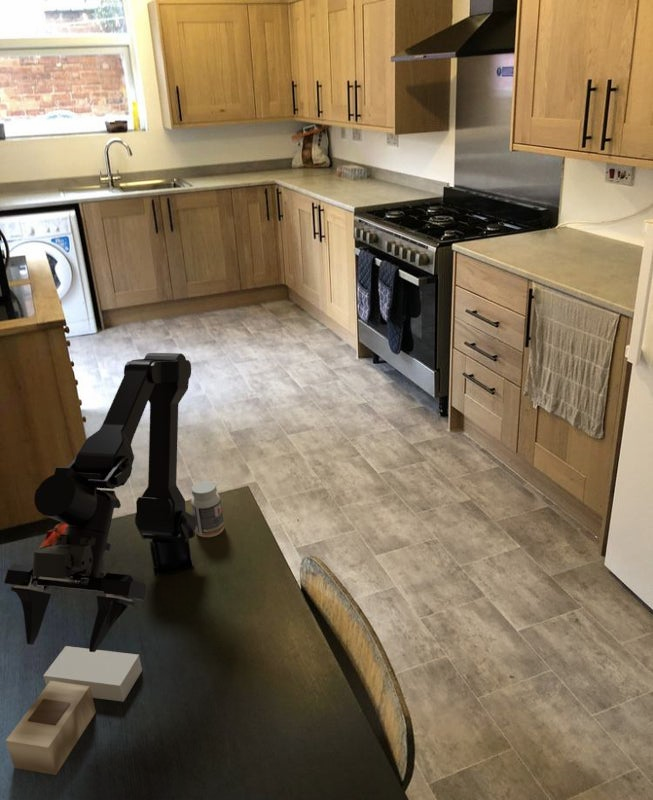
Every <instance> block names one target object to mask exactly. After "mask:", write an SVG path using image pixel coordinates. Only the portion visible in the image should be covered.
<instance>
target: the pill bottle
mask: <svg viewBox="0 0 653 800" xmlns="http://www.w3.org/2000/svg"><path fill="white" fill-rule="evenodd" d="M217 491H218V490H217V485H216V483H215V482H213V481H210V480H209V481H208V480H204V481H199V482H197V483H195V484H193V485H192V487H191V495H192V498H191V502H190V503H191V504H190V505H191V511H192V516H194V517H195V518H196V528H195V530H194V531H195V534H197V535H198V536H199V537H202V538H213V537H216V536H218V535H220V534H222V532H223V531H224V529H225V523H224V522H225V521H224V517H223V516H224V515H223V508H222V501H221V497H220V495H219V493H217Z"/></svg>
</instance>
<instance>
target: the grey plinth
mask: <svg viewBox="0 0 653 800" xmlns="http://www.w3.org/2000/svg"><path fill="white" fill-rule="evenodd" d="M142 671H143V668H142V663H141V658H140V654H138V653H137V654H135V653H127V652H119V651H113V650H112V651H111V650H103V649H97V650H96V651H95V652H90V651H89V648H85V647H78V646H76V647H75V646H69V645H65V646H64V648H63V649H62V650H61V651H60V653H59V654H58V655H57V657H56V658H55V660H54V661H53V662H52V664H50V666H49V667H48V669H47V670H46V671H45V673H44V674H43V676H42V677H43V681H44V682H45V687H46V686H47V685H48V683H49V682H50V681H56V682H63V683H70V684H77V685H85V686H90V690H91V694H92V698H93V699H101V700H107V701H108V700H109V701H113V702H114V701H115V702H122V703H123V702H125V701H126V699H127V697H128V695H129V694H130V692H131V689H132V688H133V687H134V685H135V683H136V681H137V680H138V678H139V677H140V676H141V673H142Z"/></svg>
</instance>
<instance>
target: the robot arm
mask: <svg viewBox="0 0 653 800" xmlns="http://www.w3.org/2000/svg"><path fill="white" fill-rule="evenodd" d="M191 375H192V364H191V362H190V360H189V359H187V358H186V356H185V354H183V353H174V352H171V353H170V352H168V353H167V352H148V353H146V354H145V356H144V358H140V359H132V360H130V361H126V363H125V365H124V369H123V378H122V380H121V382H120V383H119V384H120V385H119V386H118V388H117V391H116V393H115V396H113V397H114V398H113V400H112V402H111V404H110V406H109V408H108V412H107V413H106V416H105V418H104V420H103V422H102V425H101V426H100V428H99V430H97V431H96V432H95V433H93V434H91V435H90V436H89V437H87V438H86V439H85V441H84V442H83V444H82V445H81V447H80V448H79V451H78V452H77V453H76V456H75V457H74V458H73V459H72V460H71V461H70V463H69V464H68V465H67V466H56V467H55V469H54V474H53V475H50V476H48V477H47V478H45V479H44V480H43V481H42V482H41V483H40V484H39V485H38V488H36V490H35V493H34V496H33V497H34V506H35V508H36V510H37V511H38V512H39V513H40V514H41V515H43V516H46V517H48V518H50V519H52V520H55V521H58V522H60V523H64V524H68V526H67V530H66V534H65V535H64V534H60V537H58V540H57V544H56V545H55V546H50V547H46V548H43V549H39V548H38V549H39V550H38V549H36V550H33V561H32V562H33V563H32V565H28V564H27V565H26V564H15V563H14V564H12V565H11V566H10V567H9V568H8V569H7V570H6V571H5V575H4V578H3V582H2V584H5V585H8V586H10V591H11V592H12V593H16V595H17V597H18V598H19V600H20V602H21V606H22V610H23V617H24V628H25V636H26V637H25V639H26V644H27V645H31V646H32V645H34V644H35V642H36V641H37V638H38V636H39V633H40V629H41V626H42V624H43V621H44V618H45V614H46V611H47V608H48V605H49V602H50V599H51V596H52V594H51V593H48V592H44V591H47V590H48V589H49V588H50V587H53V588H63V589H70V590H71V589H74V590H81V591H82V590H84V591H92V592H103V593H104V594H105V596H102V595H101V596H100V595H97V596H96V603H97V604H96V605H97V612H96V615H95V616H96V617H95V620H94V624H93V628H92V631H91V636H90V641H89V648H88V649H89V651H90V652H95V651H96V650H98V648H99V647H100V646H101V644H102V642H103V641H104V639H105V638H106V636H107V635H108V633H109V632H110V630H111V629H112V627H113V626H114V625H115V624H116V622H117V621H118V619H119V618H120V617H121V616H122V614H123V613H124V612H125V611H126V610H127V608H128V607H134V606H135V602H134V601H145V597H146V592H147V586H146V582H145V580H144V579H142V578H139V577H137V576H133V575H131V574H121V573H110V572H106V574H105V572H101V570H102V569H101V568H102V564H103V559H104V556H105V552H110V550H111V546H112V544H110V543H108V538H109V533H110V528H111V525H112V518H113V515H114V511H115V510H114V509H120V508H121V501H120V499H119V498H118V496H117V495H116V491H115V489H116V488H120V487H122V486H124V485H126V484H127V482H128V480H129V479H130V477H131V476H132V471H133V464H134V460H135V455H134V451H133V448H132V443H133V439H134V437H135V434H136V431H137V430H138V427H139V424H140V422H141V419H142V417H143V414H144V411H145V409H146V407H147V404H148V402H149V433H148V434H149V438H148V472H147V473H148V476H147V478H148V479H147V480H148V481H147V482H148V483H147V487H146V489H145V491H144V492H143V494H141V496H139V497H137V499H136V503H135V506H136V507H135V508H136V509H135V510H136V513H135V517H134V518H135V519H134V522H135V523H134V524H135V526H136V527H135V528H136V529H137V531H138V533H139V534H140V537H141V538H142V540H150V541H148V542H149V549H150V554H151V561H152V567H153V568H154V569H155V568H156V574H157V576H163V575H167V574H172V573H176V572H181V571H185V570H190V569H192V568H194V567H195V566H194V565H195V564H194V562H193V557H192V553H191V547H190V541H189V540H190V539H192V538H194V537H195V536H196V531H195V528H196V518H195V517H194V516H193V514H190V513H189V512H187V511H186V500H185V497H184V495H183V494H182V492H181V491H180V489H179V487H178V485H177V470H178V434H179V433H178V431H179V403H180V402H181V400H182V399H183V398H184V396H185V394H186V393H187V391H188V390H189V382H190V378H191ZM82 579H84V580H88V582H84V581H83V582H82ZM133 600H134V601H133Z"/></svg>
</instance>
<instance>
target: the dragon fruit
mask: <svg viewBox="0 0 653 800" xmlns="http://www.w3.org/2000/svg"><path fill="white" fill-rule="evenodd" d="M67 526H68V524H65V523H62V522H60V523H58V524H56V525H55V526H54V527H53V528H52V529H50V530H47V531H46V534H45V538H44V540H43V541H42V543H40V546H39V547H38V549H37V550H39V549H43V548H46V547H50V546H55V545H56V544H57V540H58V537H60V534H64V535H65V534H66V530H67Z"/></svg>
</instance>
